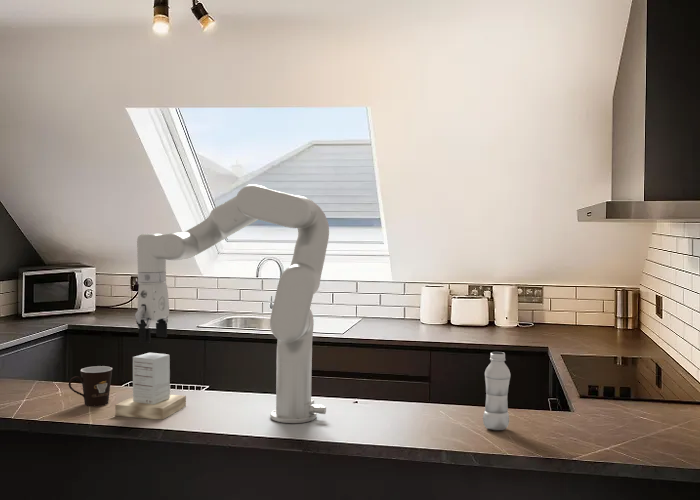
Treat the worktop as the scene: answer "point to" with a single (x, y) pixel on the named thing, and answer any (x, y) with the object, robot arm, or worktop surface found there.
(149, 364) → the supplement box
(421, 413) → the worktop surface
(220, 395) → the worktop surface
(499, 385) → the plastic bottle
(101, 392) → the coffee mug
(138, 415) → the block
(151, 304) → the robot arm
